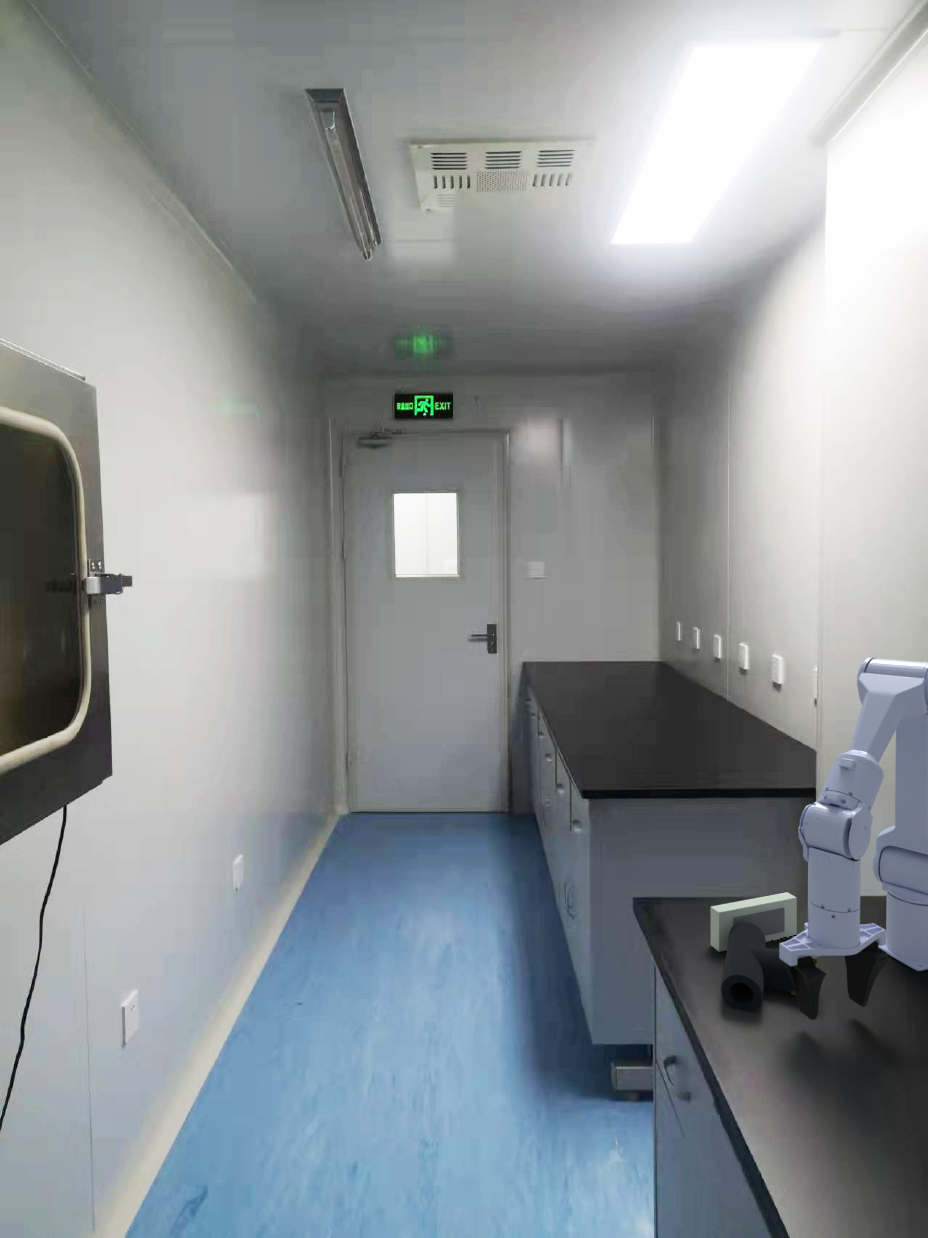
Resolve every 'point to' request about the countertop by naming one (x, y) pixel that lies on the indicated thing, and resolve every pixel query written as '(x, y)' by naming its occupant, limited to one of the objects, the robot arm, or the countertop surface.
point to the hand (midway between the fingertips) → (833, 1008)
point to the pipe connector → (751, 969)
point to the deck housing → (755, 918)
